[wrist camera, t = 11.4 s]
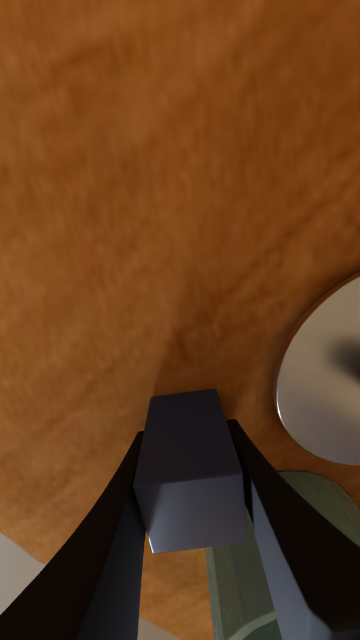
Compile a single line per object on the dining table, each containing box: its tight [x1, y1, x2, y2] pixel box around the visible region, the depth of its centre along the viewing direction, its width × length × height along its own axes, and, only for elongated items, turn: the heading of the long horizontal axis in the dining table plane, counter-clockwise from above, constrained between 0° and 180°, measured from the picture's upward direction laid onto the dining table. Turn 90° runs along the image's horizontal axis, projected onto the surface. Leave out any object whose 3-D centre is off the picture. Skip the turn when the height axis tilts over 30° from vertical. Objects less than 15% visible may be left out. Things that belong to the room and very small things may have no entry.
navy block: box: [133, 389, 248, 553], centre depth 10 cm, size 4×4×5 cm
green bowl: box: [205, 471, 360, 640], centre depth 13 cm, size 12×12×5 cm
